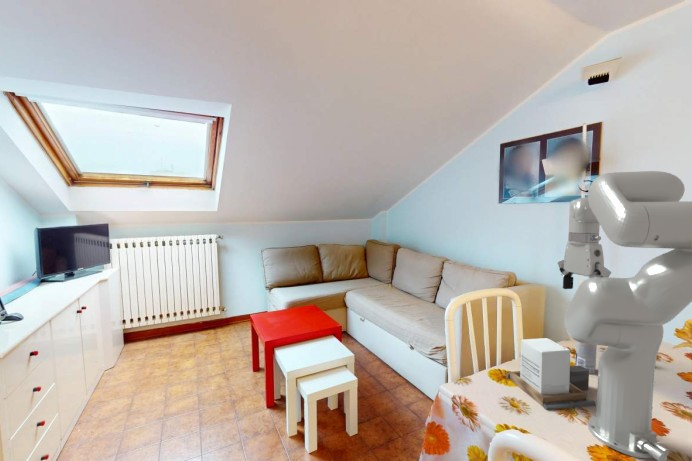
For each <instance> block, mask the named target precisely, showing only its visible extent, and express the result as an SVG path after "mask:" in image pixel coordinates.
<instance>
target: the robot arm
mask: <svg viewBox="0 0 692 461" xmlns="http://www.w3.org/2000/svg"><path fill="white" fill-rule="evenodd" d="M685 190H686V189H685V184H684V182H683V181H682V180H681V178H679V177H678V176H677V175H675V174H673V173H670V172H667V171H660V170H647V171H642V170H641V171H621V172H620V171H618V172H616V171H615V172H614V171H613V172H606V173H602V174H601V175H599V176H597V177H596V178H594V179H593V181H592V182H591V183H590V185H589V188H588V192H587V197H584V196H583V197H580V198H577V199H573V200H571V201H570V203H569V216H568V239H567V240H568V241H567V242H566V246H565V251H564V256H563V260H560V261H558V262H557V265H558V268H559V269H558V270H559V271H560V273H561V276H562V289H563V290H572V289H574V276H573V275H574V274H575V275H578V276H584V277H588V278H587V279H585V280H583V281H582V282H581V283H580V285H579V286H578V288H577V289H576V292H575V293H574V295H573V297H572V299H571V300H570V302H569V305H568V306H567V308H566V311H565V314H564V320H563V322H564V329H565V330H566V333H567V335H568V336H569V337H570V338H572V340H574V341H578V342H581V343H586V344H594V345H597V346H603V347H604V346H605V347H606V348H605V349H604V351H603V352H602V353H601V354H600V357H599V361H598V371H597V372H598V374H597V388H596V390H597V393H596V412H595V413H596V415H594V416H590V418H588V420H587V428H588V430H589V432H590V433H591V435H593V437H595V438H596V439H597V440H598V441H600V442H601V443H603V444H604V445H605V446H607V447H609V448H610V449H613V450H615V451H617V452H619V453H621V454H624V455H627V456H629V457H635V458H638V459H639V458H640V459H656V460H657V461H667V459H668V455H669V454H670V450H669V449H668V448H667V447H665V446H664V445H662V444H660V443H659V442H658V441H657V432H655V431H654V430H652V419H653V418H652V416H653V401H654V399H653V398H654V383H655V372H656V370H655V369H656V362H657V357H658V354H659V350H660V347H661V345H662V343H663V338H664V326H663V325H665V324H668V323H669V322H671V321H672V320H674V319H675V318H676V317H677V316H678V315H679V314H680V313H682V311H684V309H685V308H687V307H688V306H689V305H690V303H692V201H688V200H687V201H681V199H682V198H684V197H683V196H684V194H685ZM600 227H601V228H602V230H603V232H604V234H605V235H606V237H607V238H608V239H609V241H610V242H612V243H613V244H615V245H617V246H621V247H624V248H636V249H637V248H639V249H672V250H669V251H667V252H664V253H662V254H660V255H658V256H655V257H654V258H651V259H650V260H649V261H648V262H647V261H646V263H645V264H643V265H642V266H641V268H639V270H638V272H637V273H636V274H635V275H634V276H632V277H610V276H611V274H612V271H611V270H609V269H608V268H606V267H605V258H604V249H603V246H602V244H601V243H600V241H601V240H602V236H600V229H601V228H600Z"/></svg>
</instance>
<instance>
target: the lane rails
mask: <svg viewBox="0 0 692 461" xmlns="http://www.w3.org/2000/svg"><path fill="white" fill-rule="evenodd" d="M505 377H506V378H507V379H509V380H510V372H508V373H506V374H505ZM593 406H596V407H597V400H595V399H593V398H587V400H575V401H564V402H553V403H544V405H543V406H542V407H543V409H544V410H546V411H550V410H560V409H561V410H563V409H572V408H584V407H593Z"/></svg>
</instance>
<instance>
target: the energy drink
mask: <svg viewBox="0 0 692 461" xmlns="http://www.w3.org/2000/svg"><path fill="white" fill-rule="evenodd" d="M575 341H576V340H575ZM575 345H576V346H575V347H576V348H575V365H574V366H582V367H584V368H586V369H587V370H589V375H590V374H595V373H596V369H597V368H596V367H597V347H598V345H594V344H586V343H581V342H578V341H576V343H575Z"/></svg>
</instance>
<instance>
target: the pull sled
mask: <svg viewBox="0 0 692 461" xmlns="http://www.w3.org/2000/svg"><path fill="white" fill-rule="evenodd" d="M509 373H510V379H509V380H510V381H511V382H513V384H515V385H516V386H517V387H518V388H520V389H521V390H522V391H523V392H525V393H526V394H527V395H528V396H529V397H530V398H532V399H533V400H534V401H536V403H538V404H539V405H540V406H541V407H543V405H544V403H553V402H564V401H575V400H587V399H588V393H587V392H585V391H588V390H589V386H590V385H589V384H590V383H589V381H590V374H589V370H587V369H586V368H584V367H582V366H575V365H570V377H569V393H568V394H556V395H544V396H543V395H542V394H541V393H539V392H538V391H537V390H535V389H534V388H533V387H532V386H530V385H529V384H528V383H526V382H525V381H524V380H523V379H521V378H520V370H517V371H516V370H514V371H509Z"/></svg>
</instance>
